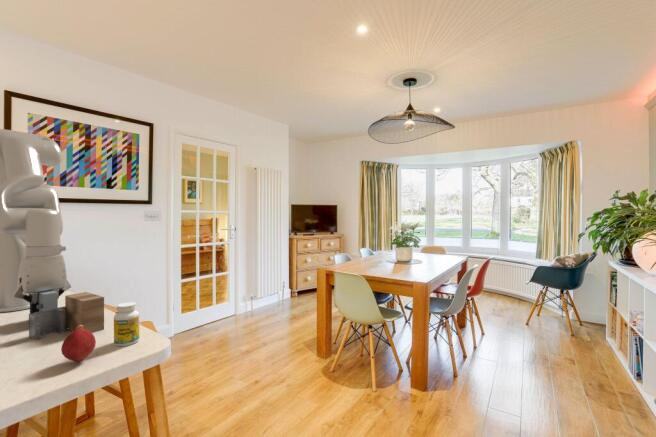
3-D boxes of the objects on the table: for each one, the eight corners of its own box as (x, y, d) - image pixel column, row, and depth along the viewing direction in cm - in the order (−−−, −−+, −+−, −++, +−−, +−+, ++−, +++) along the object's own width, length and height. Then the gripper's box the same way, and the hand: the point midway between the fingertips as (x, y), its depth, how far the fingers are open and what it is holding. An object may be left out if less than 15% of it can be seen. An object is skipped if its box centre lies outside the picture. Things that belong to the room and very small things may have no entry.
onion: (68, 371, 65) (68, 332, 65) (56, 363, 69) (56, 326, 68) (100, 360, 70) (100, 324, 70) (88, 353, 73) (88, 319, 73)
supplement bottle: (138, 336, 84) (138, 300, 83) (139, 343, 79) (139, 305, 79) (113, 341, 81) (113, 303, 81) (113, 348, 76) (113, 308, 76)
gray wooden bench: (29, 336, 82) (28, 313, 82) (69, 326, 90) (68, 305, 90) (35, 339, 81) (35, 316, 80) (75, 329, 88) (75, 307, 88)
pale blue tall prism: (25, 320, 94) (25, 290, 94) (42, 317, 97) (42, 287, 97) (39, 327, 89) (39, 295, 89) (57, 323, 92) (57, 292, 92)
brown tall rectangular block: (65, 328, 89) (65, 295, 89) (86, 322, 93) (86, 291, 93) (83, 335, 84) (82, 301, 84) (104, 329, 88) (104, 296, 88)
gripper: (70, 248, 102) (71, 305, 102) (-1, 253, 88) (0, 320, 88) (82, 250, 98) (82, 309, 99) (10, 256, 84) (10, 325, 84)
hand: (43, 314), depth 93 cm, fingers closed on pale blue tall prism, 3 cm apart
